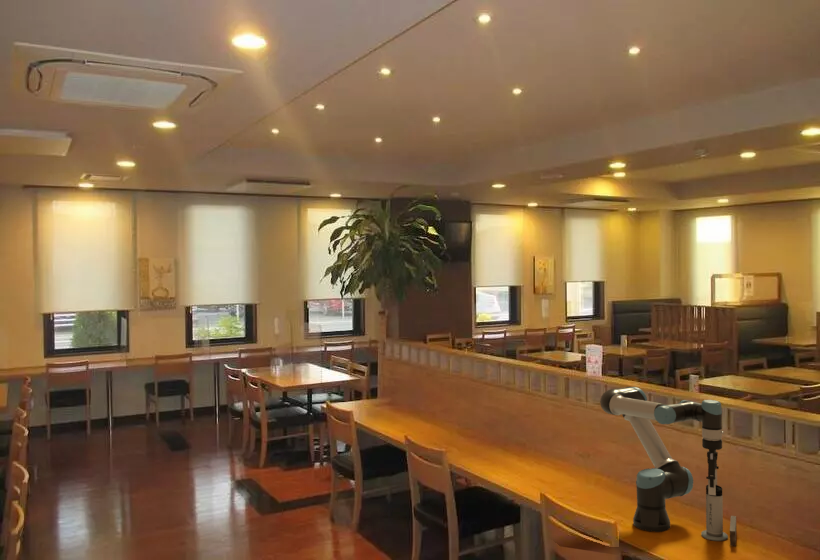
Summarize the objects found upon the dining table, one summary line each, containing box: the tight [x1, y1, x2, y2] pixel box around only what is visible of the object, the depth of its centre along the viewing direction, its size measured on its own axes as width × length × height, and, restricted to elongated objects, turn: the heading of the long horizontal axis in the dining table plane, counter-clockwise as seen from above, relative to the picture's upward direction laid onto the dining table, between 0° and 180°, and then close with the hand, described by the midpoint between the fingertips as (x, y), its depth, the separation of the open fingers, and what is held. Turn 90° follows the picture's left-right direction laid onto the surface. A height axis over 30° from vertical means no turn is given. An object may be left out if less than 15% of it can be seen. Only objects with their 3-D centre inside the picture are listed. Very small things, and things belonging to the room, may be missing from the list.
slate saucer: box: [700, 529, 729, 542], centre depth 285 cm, size 10×10×1 cm
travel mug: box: [705, 484, 724, 537], centre depth 285 cm, size 6×7×20 cm
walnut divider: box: [729, 515, 737, 547], centre depth 283 cm, size 2×18×6 cm, turn 154°
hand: (712, 489), depth 285 cm, fingers open, 13 cm apart
